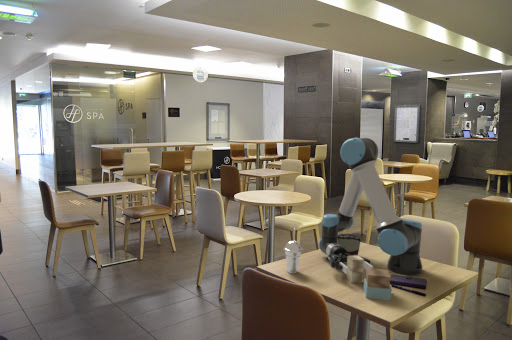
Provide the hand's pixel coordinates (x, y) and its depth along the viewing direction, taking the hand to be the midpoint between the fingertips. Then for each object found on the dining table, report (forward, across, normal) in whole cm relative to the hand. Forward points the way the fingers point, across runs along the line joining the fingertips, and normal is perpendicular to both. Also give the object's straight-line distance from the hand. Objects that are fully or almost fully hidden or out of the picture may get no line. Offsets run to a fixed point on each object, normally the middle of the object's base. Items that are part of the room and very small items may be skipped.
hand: (359, 270), depth 163 cm
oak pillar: (-4, 0, -6) cm, 7 cm away
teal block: (+10, -3, -6) cm, 12 cm away
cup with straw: (-18, +23, -6) cm, 29 cm away
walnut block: (+10, -3, -2) cm, 10 cm away
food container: (-38, -13, -6) cm, 40 cm away
